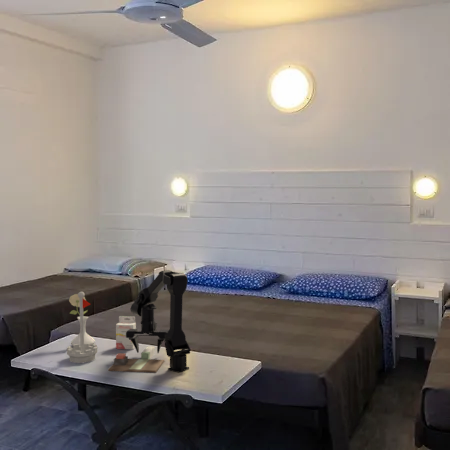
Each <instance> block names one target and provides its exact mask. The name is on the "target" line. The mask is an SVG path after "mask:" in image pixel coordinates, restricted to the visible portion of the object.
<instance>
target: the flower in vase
mask: <svg viewBox="0 0 450 450" xmlns="http://www.w3.org/2000/svg"><path fill="white" fill-rule="evenodd" d="M83 299H84V300H86V301H87V299H86V297H85V296H84V297H83ZM68 301H69V303H70V305H71V306H73V307H76V308H80V298H79V297H78V293H75V294H73V295H70V297H69V299H68ZM88 310H89V309H87V310H85V311H84V310H83V318H84V343H90V346H92V345H93V344H95V343H96V340H95V339H94V338H93V337H92V336H91V335H89V333H87V332H86V331H87V330H86V323H87V320H88V319H89V316H84V315H85V314H86V313H88ZM69 314H71V315H77V314H78V315H79V316H77V320H78V321H79V323H80V311H79V310H78V309H76V310H75V309H73V310H71V311H70V312H69ZM75 344H79V346H80V332H79V333H78V335H76V336H75V337H74V338H72V341H70V345H71V347H73V345H75Z"/></svg>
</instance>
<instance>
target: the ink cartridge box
mask: <svg viewBox="0 0 450 450" xmlns="http://www.w3.org/2000/svg"><path fill="white" fill-rule="evenodd" d="M136 326H137V323H136V316H135V315H134V316H130V315H129V316H128V315H127V316H126V315H119V316H118V323H116V324H115V349H117V350H134V349H135V346H134V344H133V343H132V341H131V340H129V338H126V332H127V331H128V330H129V329H137V327H136Z"/></svg>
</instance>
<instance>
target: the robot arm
mask: <svg viewBox="0 0 450 450" xmlns="http://www.w3.org/2000/svg"><path fill="white" fill-rule="evenodd" d="M188 281H189V280H188V277H187V275H186V274H185V273H184V272H177V271H172V270H169V269H167V270H161V271H158V275H157V276H156V277H155V278H154V280H153V281H151V283H150V284H149V285H148V286H147V287H145V288H142V289H141V290H140V291H139V292H138V295H137V297H136V299H134V300H133V303H132V304H131V305H130V312H131V313H132V314H133V315H134V316H138V317H140V330H138V328H136V329H129V330H128V331H127V332H126V338H129V340H131V341H132V343H133V344H134V346H135V348H134V349H135V351H136V353H137V354H138V353H139V352H140V347H139V346H140V345H139V337H141V336H142V337H143V336H144V337H158V338H157V348H156V351H157V354H159V353H160V350H161V347H162V344H163V342H164V347H165V353H166V355H167V357H168V358H169V367H167V370H168V371H173V372H176V373H180V372H183V371H186V370H188V369H190V367H189V366H187V355H189V354H191V347H190V345H189V343H188V342H187V340H186V338H187V337H186V333H185V332H184V330H183V295H184V293H185V292H186V290H187V288H188V287H187V286H188ZM165 285H166V290H167V291H168V293H169V294H170V299H169V300H170V302H169V304H170V306H169V307H170V310H169V329H160V330H159V331H157V330H158V322H156V319H155V310H157V306H156V305H155V304H154V303H155V302H156V301H157V299H158V297H159V295H158V294H159V292H160V291H161V290H162V289H163V288H164V286H165Z"/></svg>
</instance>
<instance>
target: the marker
mask: <svg viewBox="0 0 450 450" xmlns="http://www.w3.org/2000/svg"><path fill="white" fill-rule="evenodd" d="M155 350H156V348H155V346H151V345H149V346H146V348H145V349H144V350H143V351H142V352H140V359H152V357H153V356H154V355H155V354H156V351H155Z"/></svg>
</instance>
